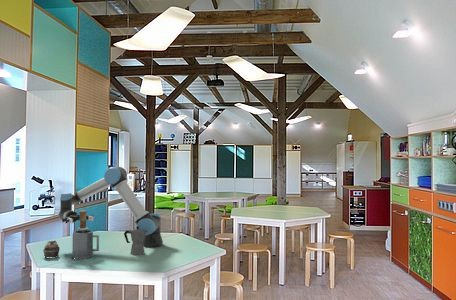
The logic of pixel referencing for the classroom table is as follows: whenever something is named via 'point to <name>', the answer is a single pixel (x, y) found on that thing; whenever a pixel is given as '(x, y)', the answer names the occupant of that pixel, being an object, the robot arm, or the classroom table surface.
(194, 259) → the classroom table surface
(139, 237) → the coffeepot
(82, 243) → the press carafe
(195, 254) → the classroom table surface
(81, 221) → the plunger
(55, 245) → the cupcake
